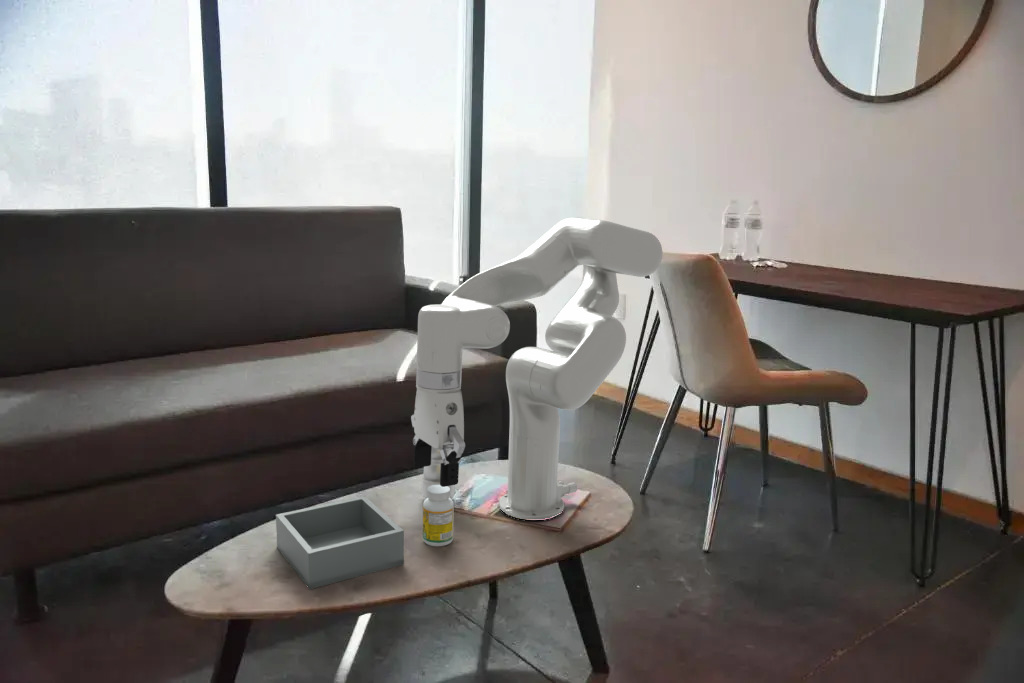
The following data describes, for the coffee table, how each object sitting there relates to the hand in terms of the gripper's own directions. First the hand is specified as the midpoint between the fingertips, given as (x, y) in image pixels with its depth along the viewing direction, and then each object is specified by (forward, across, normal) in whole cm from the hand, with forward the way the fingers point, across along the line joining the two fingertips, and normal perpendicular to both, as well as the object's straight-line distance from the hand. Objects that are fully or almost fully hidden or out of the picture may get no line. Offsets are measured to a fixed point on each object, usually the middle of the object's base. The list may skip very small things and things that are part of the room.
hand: (435, 475), depth 139 cm
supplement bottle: (+12, 0, -1) cm, 12 cm away
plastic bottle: (+12, +15, -9) cm, 21 cm away
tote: (+13, +3, +16) cm, 21 cm away
